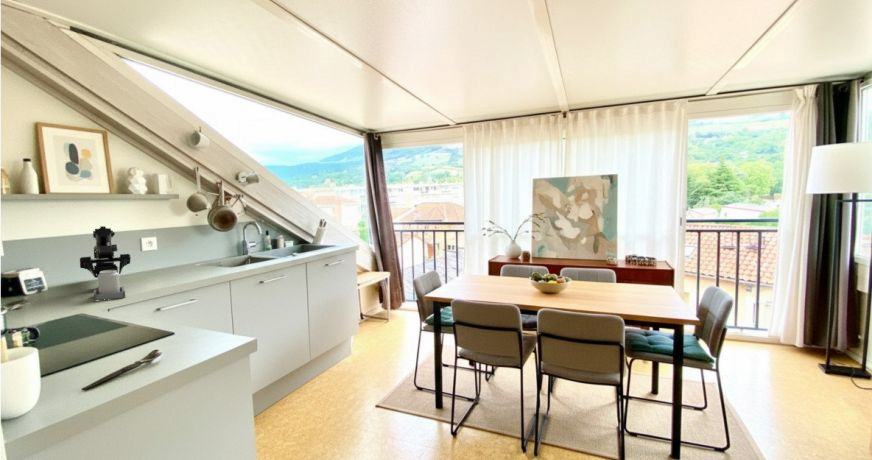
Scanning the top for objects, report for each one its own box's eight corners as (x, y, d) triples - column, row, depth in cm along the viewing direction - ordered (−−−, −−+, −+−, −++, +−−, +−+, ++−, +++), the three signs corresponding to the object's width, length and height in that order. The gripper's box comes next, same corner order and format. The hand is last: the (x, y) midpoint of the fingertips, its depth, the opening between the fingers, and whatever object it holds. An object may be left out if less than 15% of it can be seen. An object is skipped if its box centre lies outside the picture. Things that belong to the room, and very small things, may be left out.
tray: (94, 296, 181) (93, 290, 181) (124, 292, 188) (123, 286, 188) (94, 301, 173) (93, 295, 172) (125, 297, 180) (124, 291, 180)
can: (117, 297, 179) (116, 272, 178) (96, 298, 176) (95, 273, 174) (121, 293, 186) (120, 268, 184) (102, 294, 182) (100, 269, 181)
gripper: (78, 240, 180) (80, 267, 173) (129, 237, 193) (133, 263, 186) (79, 254, 186) (81, 281, 179) (128, 251, 199) (131, 275, 192)
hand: (107, 274), depth 184 cm, fingers open, 9 cm apart
